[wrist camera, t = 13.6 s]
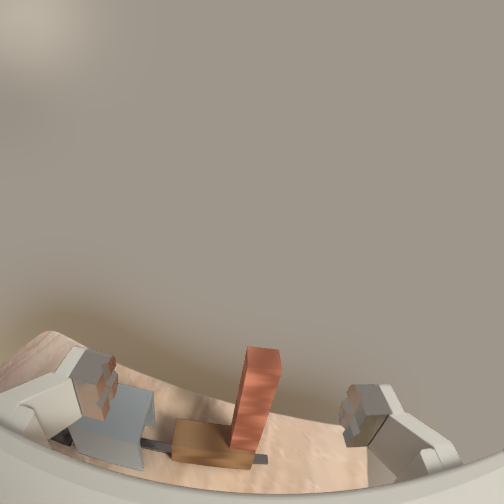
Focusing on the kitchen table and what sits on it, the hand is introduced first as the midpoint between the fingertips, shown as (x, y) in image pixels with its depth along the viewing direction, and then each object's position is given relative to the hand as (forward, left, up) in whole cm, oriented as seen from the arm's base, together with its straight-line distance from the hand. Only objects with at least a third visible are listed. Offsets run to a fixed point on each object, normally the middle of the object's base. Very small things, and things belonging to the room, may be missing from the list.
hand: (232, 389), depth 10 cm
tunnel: (-13, +16, -30) cm, 36 cm away
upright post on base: (+1, +16, -29) cm, 33 cm away
